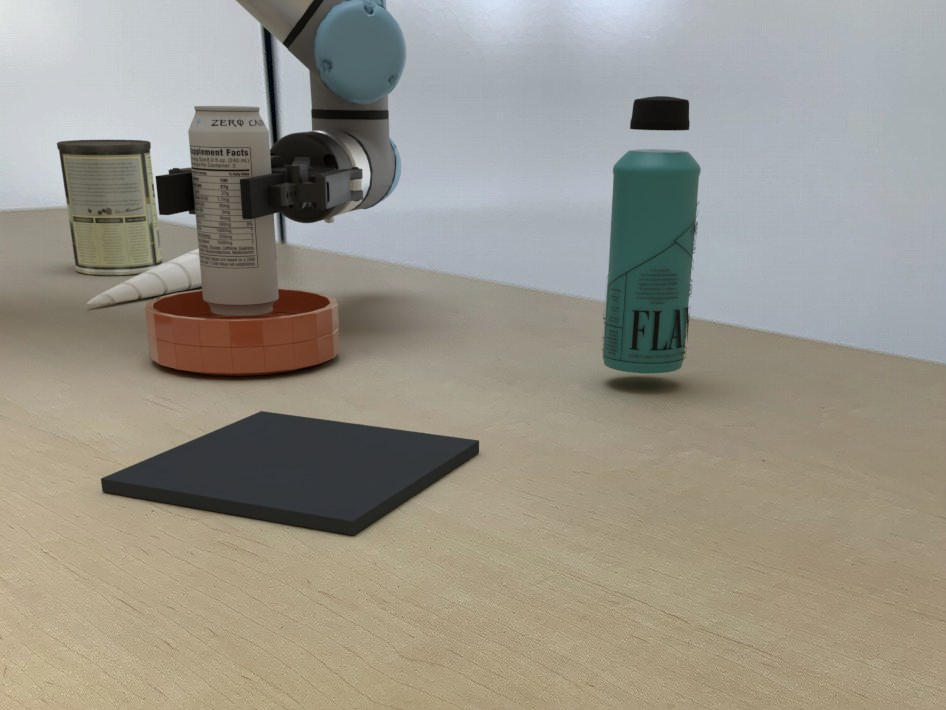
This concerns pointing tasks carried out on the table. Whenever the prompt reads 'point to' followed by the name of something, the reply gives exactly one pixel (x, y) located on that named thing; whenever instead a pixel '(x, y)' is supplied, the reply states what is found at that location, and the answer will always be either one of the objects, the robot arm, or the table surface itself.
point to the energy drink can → (232, 210)
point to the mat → (296, 471)
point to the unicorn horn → (156, 281)
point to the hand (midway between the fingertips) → (203, 197)
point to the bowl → (243, 334)
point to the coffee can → (111, 206)
